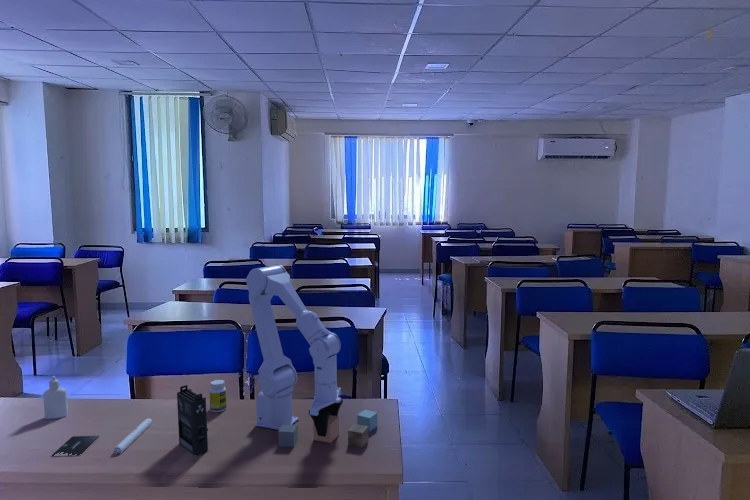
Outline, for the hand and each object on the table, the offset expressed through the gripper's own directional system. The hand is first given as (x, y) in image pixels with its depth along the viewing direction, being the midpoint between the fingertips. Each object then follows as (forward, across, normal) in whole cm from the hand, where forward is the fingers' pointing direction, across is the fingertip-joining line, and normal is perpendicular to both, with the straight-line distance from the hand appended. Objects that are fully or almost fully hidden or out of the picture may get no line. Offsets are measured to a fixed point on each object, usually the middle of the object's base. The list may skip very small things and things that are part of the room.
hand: (326, 430), depth 136 cm
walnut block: (+2, 0, -9) cm, 9 cm away
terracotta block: (+2, 0, 0) cm, 2 cm away
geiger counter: (+2, -16, +29) cm, 33 cm away
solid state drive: (+2, -26, +58) cm, 64 cm away
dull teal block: (+2, +9, -8) cm, 12 cm away
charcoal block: (+2, -6, +8) cm, 10 cm away
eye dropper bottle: (+2, -15, +79) cm, 80 cm away
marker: (+2, -17, +48) cm, 51 cm away
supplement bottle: (+2, +5, +38) cm, 38 cm away
